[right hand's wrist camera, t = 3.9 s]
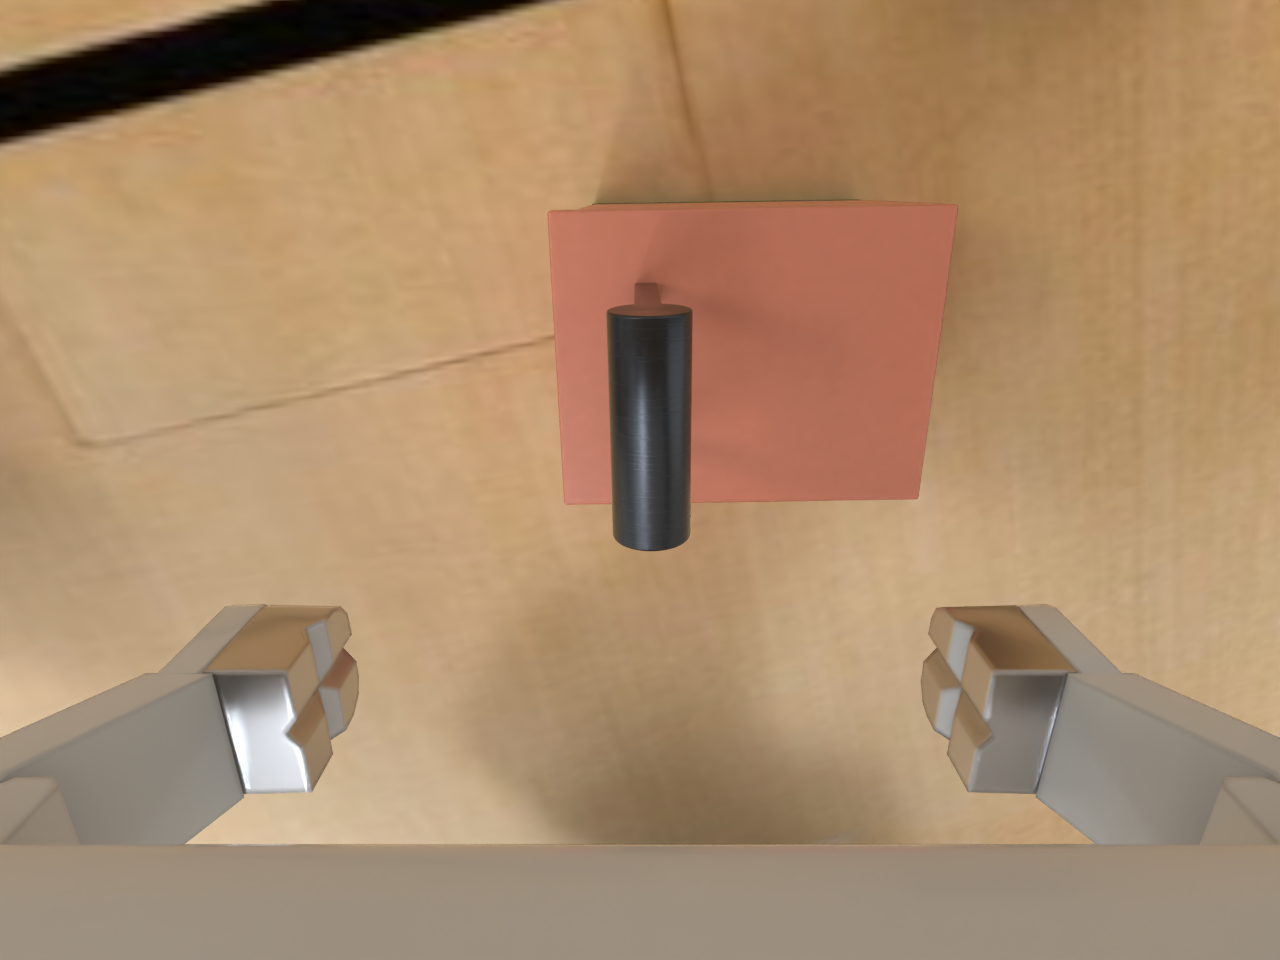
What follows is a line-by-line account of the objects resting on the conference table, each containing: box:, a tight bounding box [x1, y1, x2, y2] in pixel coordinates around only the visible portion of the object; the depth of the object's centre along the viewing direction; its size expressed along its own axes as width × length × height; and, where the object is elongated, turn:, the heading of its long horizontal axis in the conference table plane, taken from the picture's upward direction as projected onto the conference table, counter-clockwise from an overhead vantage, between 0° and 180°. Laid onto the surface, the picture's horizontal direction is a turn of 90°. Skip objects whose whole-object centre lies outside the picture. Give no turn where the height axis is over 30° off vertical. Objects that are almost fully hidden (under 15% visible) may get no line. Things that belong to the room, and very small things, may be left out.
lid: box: [548, 204, 958, 551], centre depth 20 cm, size 12×10×8 cm
